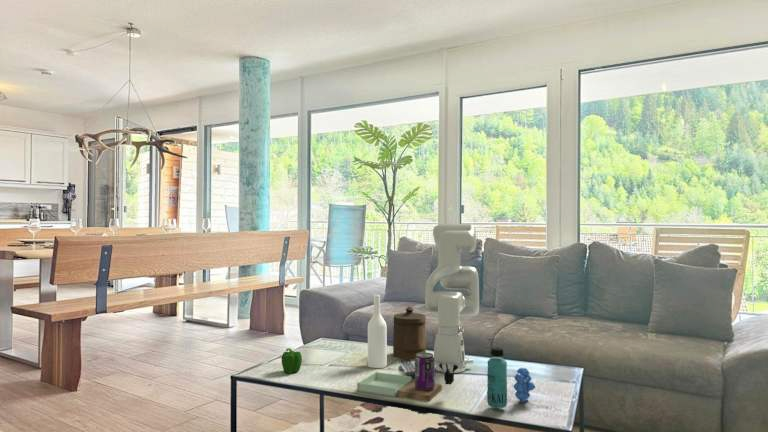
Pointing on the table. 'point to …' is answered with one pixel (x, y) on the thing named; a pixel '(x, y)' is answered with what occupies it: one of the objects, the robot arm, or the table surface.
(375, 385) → the tray
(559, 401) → the table surface
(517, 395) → the grapes
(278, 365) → the table surface
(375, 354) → the bottle
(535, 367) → the table surface
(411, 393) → the board
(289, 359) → the bell pepper
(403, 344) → the wooden container
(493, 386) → the beverage bottle
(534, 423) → the table surface
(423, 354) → the beverage can
